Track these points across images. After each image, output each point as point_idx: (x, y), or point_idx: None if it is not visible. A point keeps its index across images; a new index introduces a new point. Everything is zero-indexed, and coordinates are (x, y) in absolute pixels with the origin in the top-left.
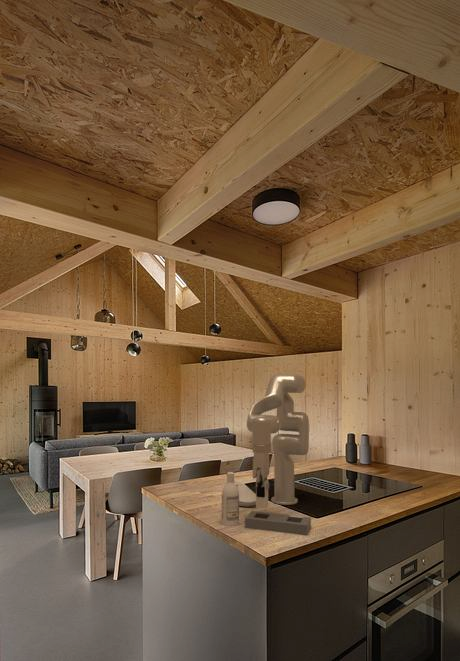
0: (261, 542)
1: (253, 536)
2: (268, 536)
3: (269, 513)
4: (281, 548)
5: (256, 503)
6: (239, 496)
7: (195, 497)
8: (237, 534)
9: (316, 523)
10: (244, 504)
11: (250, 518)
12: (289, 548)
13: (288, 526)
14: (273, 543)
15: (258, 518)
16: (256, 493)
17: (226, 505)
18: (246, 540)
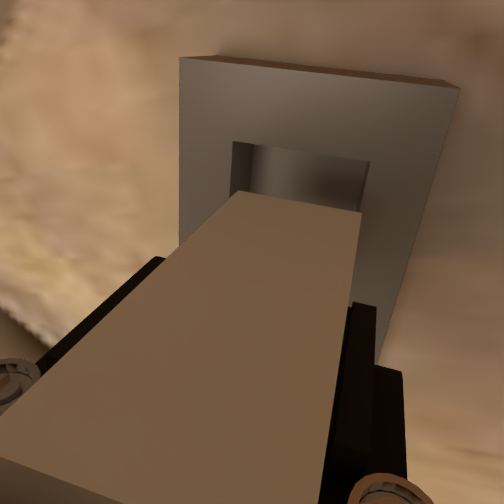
0: (43, 205)
1: (104, 148)
2: (139, 239)
3: (382, 279)
4: (25, 298)
5: (222, 210)
6: None
7: None
8: (92, 20)
9: (428, 496)
10: None
11: (191, 117)
12: (41, 329)
13: None
14: (60, 265)
15: (212, 192)
16: (161, 271)
17: None
18: (28, 112)
